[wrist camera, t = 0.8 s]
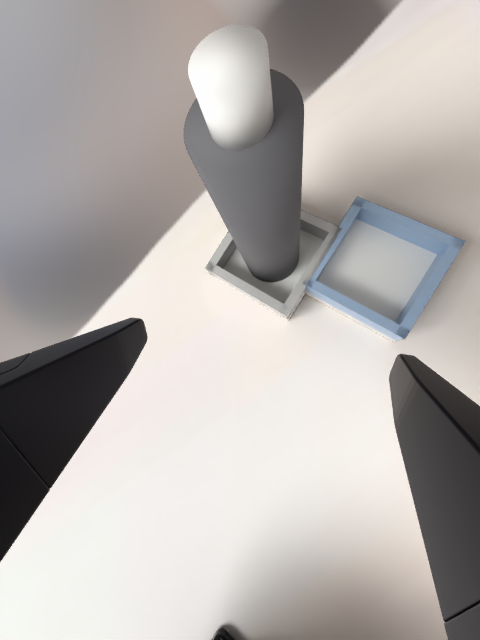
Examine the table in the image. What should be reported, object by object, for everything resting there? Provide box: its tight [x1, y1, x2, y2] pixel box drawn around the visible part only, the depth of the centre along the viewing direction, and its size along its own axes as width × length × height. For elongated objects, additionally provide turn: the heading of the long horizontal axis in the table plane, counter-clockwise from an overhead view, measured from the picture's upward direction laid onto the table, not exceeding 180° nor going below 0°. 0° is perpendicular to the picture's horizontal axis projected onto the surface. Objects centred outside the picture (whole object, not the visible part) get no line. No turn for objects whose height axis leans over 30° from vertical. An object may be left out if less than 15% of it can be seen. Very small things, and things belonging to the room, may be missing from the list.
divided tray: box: [205, 196, 465, 341], centre depth 21 cm, size 11×16×2 cm
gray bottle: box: [184, 24, 304, 282], centre depth 15 cm, size 4×4×15 cm
